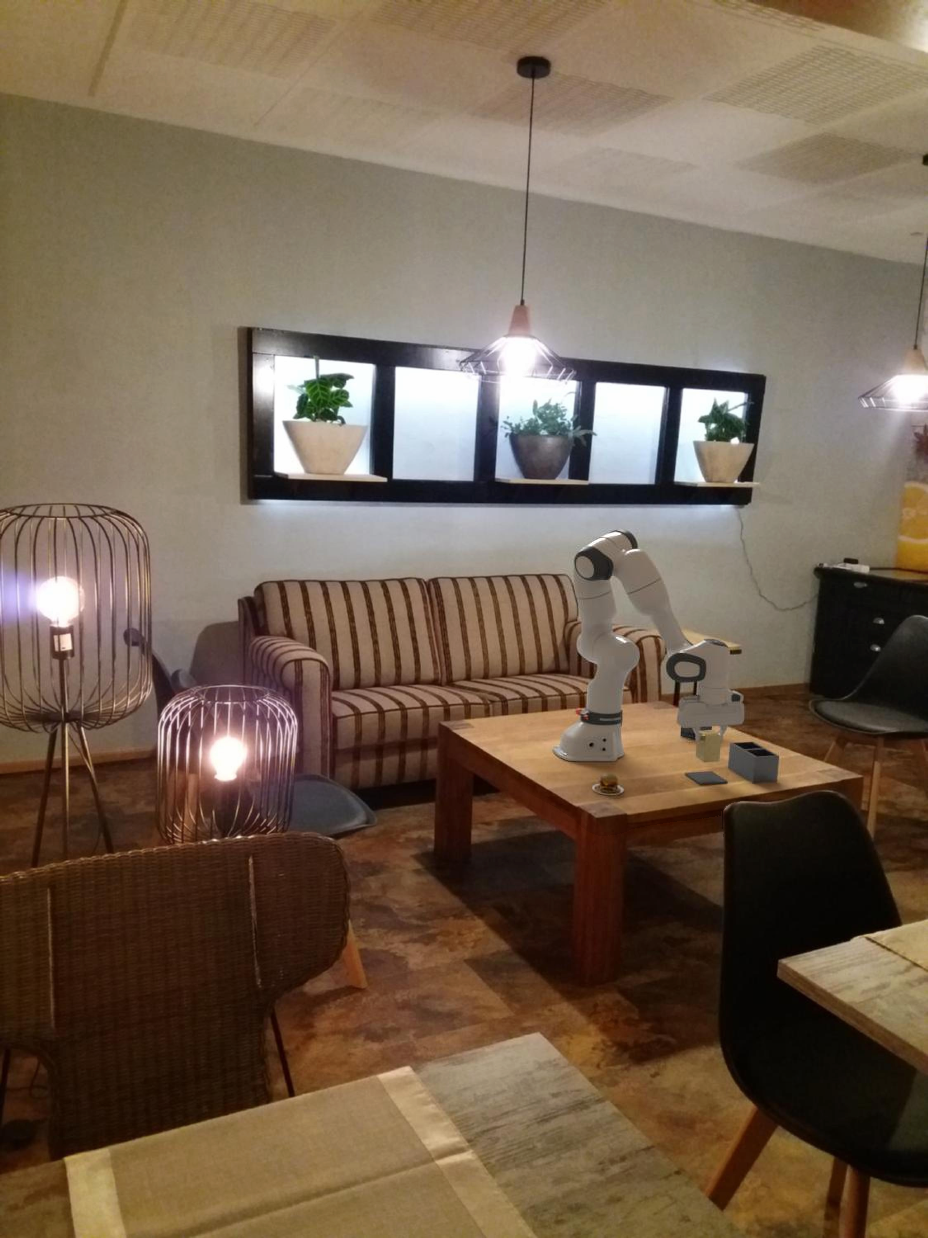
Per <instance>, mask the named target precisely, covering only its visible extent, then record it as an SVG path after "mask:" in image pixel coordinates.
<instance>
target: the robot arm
mask: <svg viewBox="0 0 928 1238" xmlns="http://www.w3.org/2000/svg"><path fill="white" fill-rule="evenodd" d="M572 570H573V571H572V572H573V583H574V584H573V586H574V591H575V592H574V593H575V595H576V601H577V604H578V608H579V614H580V619H581V620H580V621H581V629H580V630H581V631H580V634H579V635H578V637H577V639H576V648H577V649H576V650H577V652H578V654H580V656H581V657H582V658H584V659H586V661H588V662H590V663H593V664H595V665H597V669H596V673H595V675H594V678H592V680H590V681H589V682H588V685H587V686H586V687H587V690H586V691H587V692H586V706H585V707H584V709H581V708H579V707H577V708H576V709H575V711H574V712H575V715H577V716H580V718H579V720H577V721H576V722H575V723H573V724H572V725H570V726H569V727H568V728H567V729H565V730H564V731H563V732H562V733H561V736H560V737H561V738H560V743H559V744H554V745H553V748H552V751H553V753H554V754H555V755H557V757H559V758H560V759H563V760H565V761H569V762H616V761H617V760H618V758H619V759H620V758H621V757H623V756H624V755H625V752H624V748H623V741H622V726H623V716H624V715H623V714H624V712H623V709H622V706H623V696H624V695H623V692H624V687H625V686H624V685H625V683H626V680H627V677H628V675H629V674H630V672H631V671H632V670H633V669H634V668H635V667H636V666H637V665H638V663H639V661H640V649H639V647H638V645H637V644H636V643H634V642H633V641H632V640H630V639H629V638H627V637H625V636H623V635H620V634H616V633H615V632H614V630H613V619H614V618H615V617H616V615H617V607H616V601H615V597H614V593H613V589H612V584H611V580H610V579H611V578H612V577H615V578H616V579H618V580H619V581H620V583H621V584H622V587H623V589H624V591H625V593H626V595H627V598H628V599H629V601H630V602H631V605H632V606H633V607H634V608H635V610H636V611H637V612H638V613H639V614H640V615H642V616H644V617H646V618H648V620H650V621H651V622H652V623H653V625H654V626H655V629H656V630H657V633H658V634H659V636H660V638H661V640H662V641H663V643H664V646H665V649H666V663H665V664H666V665H665V670H666V673H667V675H668V677H669V678H670V679H671V680H672V681H674V682H677V683H679V684H681V683H682V684H684V683H696V694H694V695H684V696H683V697H681V698H680V699H679V701H678V711H677V716H676V724H677V725H679V727H680V728H681V727H683V728H691V727H693V728H692V729H693V731H694V733H695V734H696V737H695V739H696V740H695V741H696V742H697V741H703V739H702V738H703V735H701V734H700V733H699V731H698V730H700V727H709V726H712V727H719V728H720V729H719V730H718V731H717V733H718V734H720V735H722V736H721V741H722V740H723V735H724V734H725V732H726V731H727V729H728V726H740V725H742V724H743V722H744V721H745V705H744V702H743V701H744V695H743V694H741V693H739V692H738V691H735V690H733V689H730V688H729V675H730V671H731V651H730V647H729V646H728V645H727V644H726V642H723V641H722V640H719V639H715V638H703V639H702V640H700V641H699V642H698V643H695V644H693V643H692V642H691V641H689V639H687V638H686V636H685V635H684V633H683V631H682V629H681V627H680V625H679V622H678V621H677V619H676V618H675V615H674V613H673V609H672V606H671V601H670V596H669V592H668V590H667V589H668V588H667V586H666V584H665V582H664V580H663V577H662V576H661V574H660V571H659V570H658V568H657V566H656V565H655V563H654V562H653V560H652V559H651V558H650V556H649V555H648V553H647V551H645V550H643V549H640V548H639V544H638V541H637V538H636V536H635V535H634V534H633V533H632V532H631V531H629V530H626V529H624V528H623V529H622V528H621V529H616V530H615V529H614V530H611V531H610V532H608V533H606V534H603V535H601V536H599V537H597V538H596V539H595V540H593V541H591V542H590V543H589V544H588V545H585V546H583V547H582V548H580V550H579V551H578V552H577V553H576V554H575V555H574V559H573V569H572Z"/></svg>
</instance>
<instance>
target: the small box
mask: <svg viewBox="0 0 928 1238" xmlns="http://www.w3.org/2000/svg"><path fill="white" fill-rule="evenodd" d="M692 728H693V727H691V728H683V727H681V726H680V737H681V736H682V738H686V739H688V738H690V739H689V740H692V739H693V741H696V739H695V737H696V734H695V733H694V731H693V729H692ZM705 730H713V726H709V727H700V730H698V731H705Z"/></svg>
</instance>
